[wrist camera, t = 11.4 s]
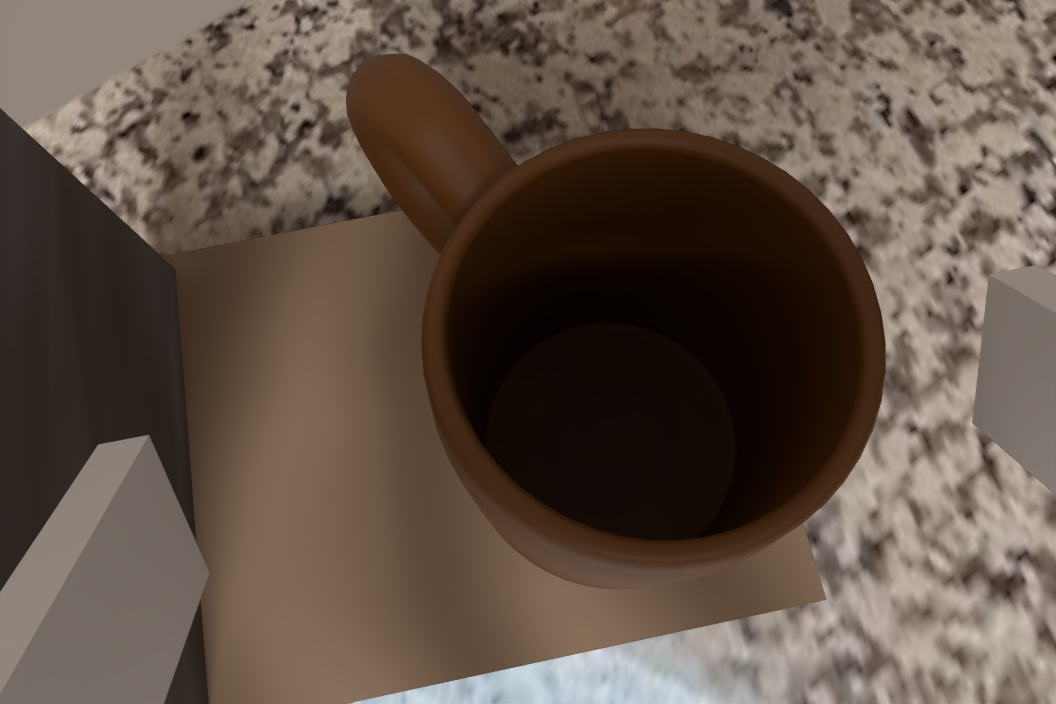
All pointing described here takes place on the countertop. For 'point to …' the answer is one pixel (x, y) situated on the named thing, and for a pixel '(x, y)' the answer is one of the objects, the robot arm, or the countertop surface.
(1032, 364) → the robot arm
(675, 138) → the mug
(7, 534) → the shelf
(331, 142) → the countertop surface
